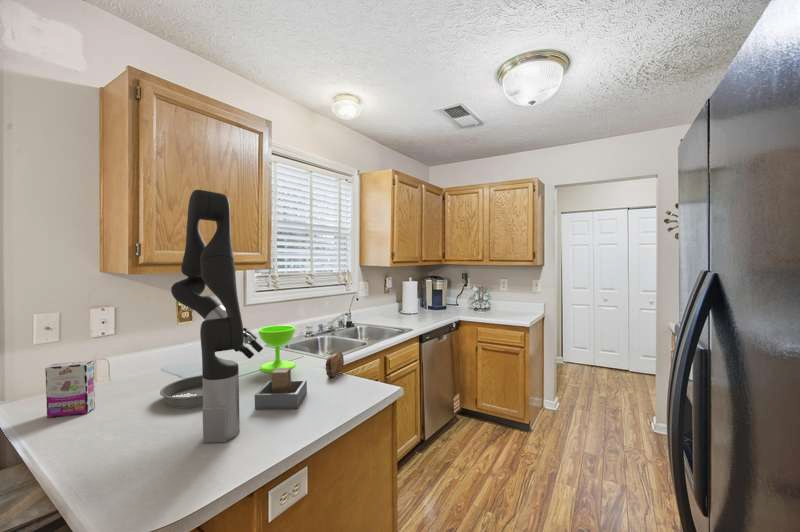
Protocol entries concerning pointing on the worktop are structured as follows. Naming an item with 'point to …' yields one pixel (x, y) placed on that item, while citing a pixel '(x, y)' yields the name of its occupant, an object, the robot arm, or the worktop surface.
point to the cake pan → (184, 392)
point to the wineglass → (276, 345)
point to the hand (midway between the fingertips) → (256, 353)
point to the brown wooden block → (281, 380)
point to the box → (281, 396)
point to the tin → (334, 364)
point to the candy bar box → (70, 389)
